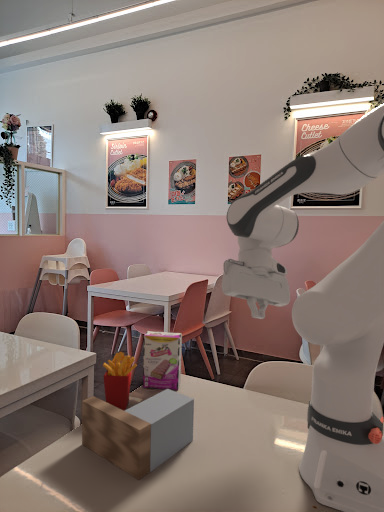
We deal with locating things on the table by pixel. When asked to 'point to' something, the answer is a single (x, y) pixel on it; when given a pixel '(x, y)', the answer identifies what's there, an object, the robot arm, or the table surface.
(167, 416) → the slate block
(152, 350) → the candy bar box
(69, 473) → the table surface
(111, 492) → the table surface
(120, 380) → the french fries
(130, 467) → the walnut board
